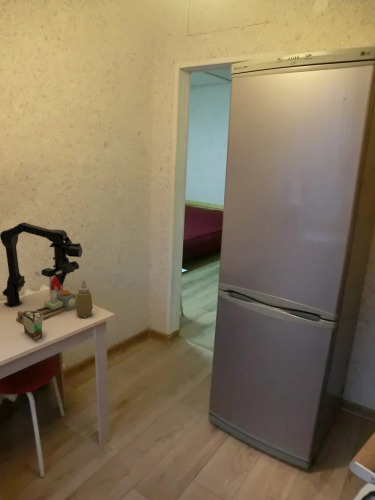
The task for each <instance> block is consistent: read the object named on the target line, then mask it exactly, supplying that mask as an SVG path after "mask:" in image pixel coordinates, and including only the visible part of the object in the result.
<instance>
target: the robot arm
mask: <svg viewBox="0 0 375 500" xmlns="http://www.w3.org/2000/svg"><path fill="white" fill-rule="evenodd" d="M23 233H27V234H31V235H34V236H38V237H42V238H45V239H47V240H49V241H50V242H52V243H51V244H50V245H49V248H53V255H54V257H52V260H54V264H53V265H52V268H51V267H47V268H43V269H41V272H40V273H41V275H42V276H44V277H47V278H49V277H52V276H55V277H56V278H57V280H58V282H59V284H60V285H63V286H64V283H65V280H66V277H67V275H68V274H71V273H74V272H75V271H77V270H79V269H80V264H79V263H78V262H77V261H76V260H75V261H70V260H69V257H73V258H81V257H82V255H83V248H82V246H81V243H77V242H76V243H73V241H72V240H71V239H70V237H69V236H68V233H67V232H66V231H65V230H64V229H49V228H45V227H41V226H39V225H34V224H31V223H27V222H20V223H18V224H17V225H15V226H14V227H11V228H8V229H6V230H3V231H1V232H0V241H1V244H2V245H3V247H4V249H5V255H6V263H7V268H8V269H7V270H8V277H7V282H6V288H5V289H4V290H3V291H2V295H3V296H5V297H6V302H4V303H3V304H4V306H7V307H9V308H14V307H16V306H20V305H22V304H23V302H22V301H21V299H20V291H21V290H22V289H23V287H24V286H25V284H26V281H25V275H22V274H21V273H20V268H19V261H18V259H19V258H18V250H17V244H18V242H19V235H21V234H23ZM67 256H68V257H67Z"/></svg>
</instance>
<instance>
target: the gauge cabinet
mask: <svg viewBox="0 0 375 500" xmlns="http://www.w3.org/2000/svg"><path fill="white" fill-rule="evenodd" d="M60 292H61V291H60ZM60 292H57V293H56V295H57V300H59V301H62V302H63V305H64V308H66V311H65V312H69V311H71V310H73V309H76V300H77V294H74V293H72V292H70V291H69V295H61V294H60Z"/></svg>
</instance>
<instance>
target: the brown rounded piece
mask: <svg viewBox="0 0 375 500" xmlns="http://www.w3.org/2000/svg"><path fill="white" fill-rule="evenodd" d="M69 292H70V290H69V289H63V290H62V291H61V292H60V294H61V295H69Z"/></svg>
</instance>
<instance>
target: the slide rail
mask: <svg viewBox="0 0 375 500" xmlns="http://www.w3.org/2000/svg"><path fill="white" fill-rule="evenodd" d="M34 311H39V312H41V313H42V314H43V317H44V320H43V321H45V320H48V319H50V318H52V317H55V316H58V315H60V314H62V313H65V312H67V311H66V308H64V305H63V306H62V307H59V308H56V309H54V310H53V309H50V308H48V307H45V306H43V307H40V308H37V309H35V310H34ZM22 312H23V311H21V310H18V311H17V317H16V318H15V322H17V323H20V324H22V325H23V326H24V323H23V316H22Z"/></svg>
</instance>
